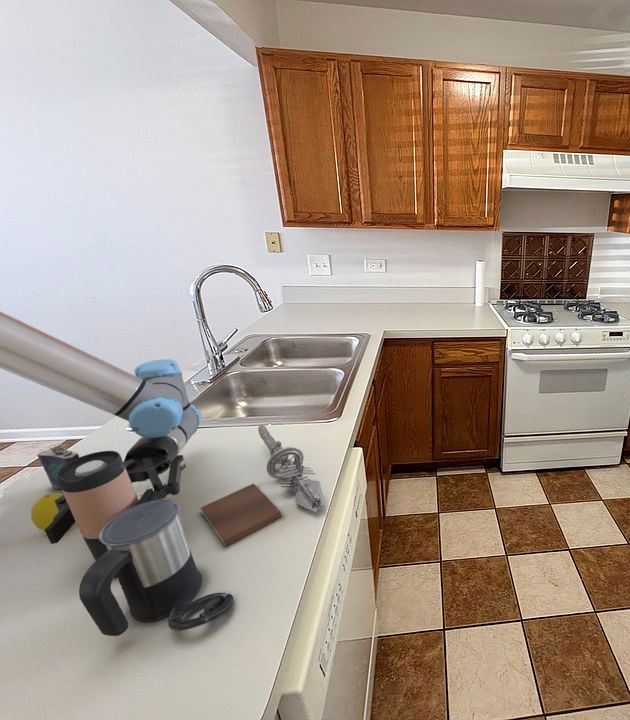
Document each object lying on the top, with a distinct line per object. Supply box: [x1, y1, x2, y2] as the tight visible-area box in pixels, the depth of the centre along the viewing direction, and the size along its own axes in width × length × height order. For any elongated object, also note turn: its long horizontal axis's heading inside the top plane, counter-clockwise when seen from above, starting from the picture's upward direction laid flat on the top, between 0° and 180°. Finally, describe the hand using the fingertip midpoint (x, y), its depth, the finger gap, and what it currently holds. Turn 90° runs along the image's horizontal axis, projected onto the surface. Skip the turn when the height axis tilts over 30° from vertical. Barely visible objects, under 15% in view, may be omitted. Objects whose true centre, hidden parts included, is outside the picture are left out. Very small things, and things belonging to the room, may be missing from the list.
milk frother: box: [78, 499, 235, 637], centre depth 59 cm, size 14×16×15 cm
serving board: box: [200, 482, 282, 548], centre depth 79 cm, size 13×10×2 cm
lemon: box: [30, 493, 63, 531], centre depth 74 cm, size 6×6×8 cm
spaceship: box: [257, 424, 324, 512], centre depth 89 cm, size 8×35×8 cm
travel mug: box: [56, 450, 139, 579], centre depth 65 cm, size 8×8×20 cm
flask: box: [36, 443, 80, 491], centre depth 85 cm, size 9×3×11 cm, turn 79°
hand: (93, 528), depth 61 cm, fingers open, 10 cm apart
